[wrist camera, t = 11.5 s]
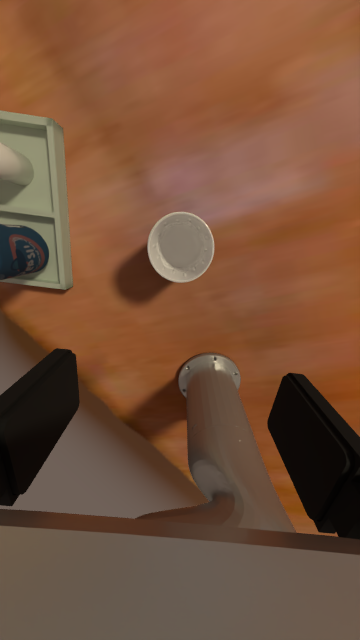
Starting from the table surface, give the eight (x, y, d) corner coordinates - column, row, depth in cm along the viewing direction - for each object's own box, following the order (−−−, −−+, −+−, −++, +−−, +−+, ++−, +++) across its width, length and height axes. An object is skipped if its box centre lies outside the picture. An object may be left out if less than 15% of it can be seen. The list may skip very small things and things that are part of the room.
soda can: (54, 275, 35) (-7, 292, 23) (11, 267, 34) (-72, 280, 23) (52, 230, 32) (-17, 226, 21) (6, 221, 32) (-89, 212, 21)
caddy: (73, 286, 36) (65, 289, 34) (3, 277, 36) (-10, 280, 34) (63, 128, 28) (52, 118, 26) (-28, 114, 28) (-47, 103, 26)
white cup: (161, 274, 35) (154, 286, 26) (152, 223, 33) (140, 218, 23) (207, 267, 35) (217, 277, 26) (202, 215, 32) (211, 206, 23)
